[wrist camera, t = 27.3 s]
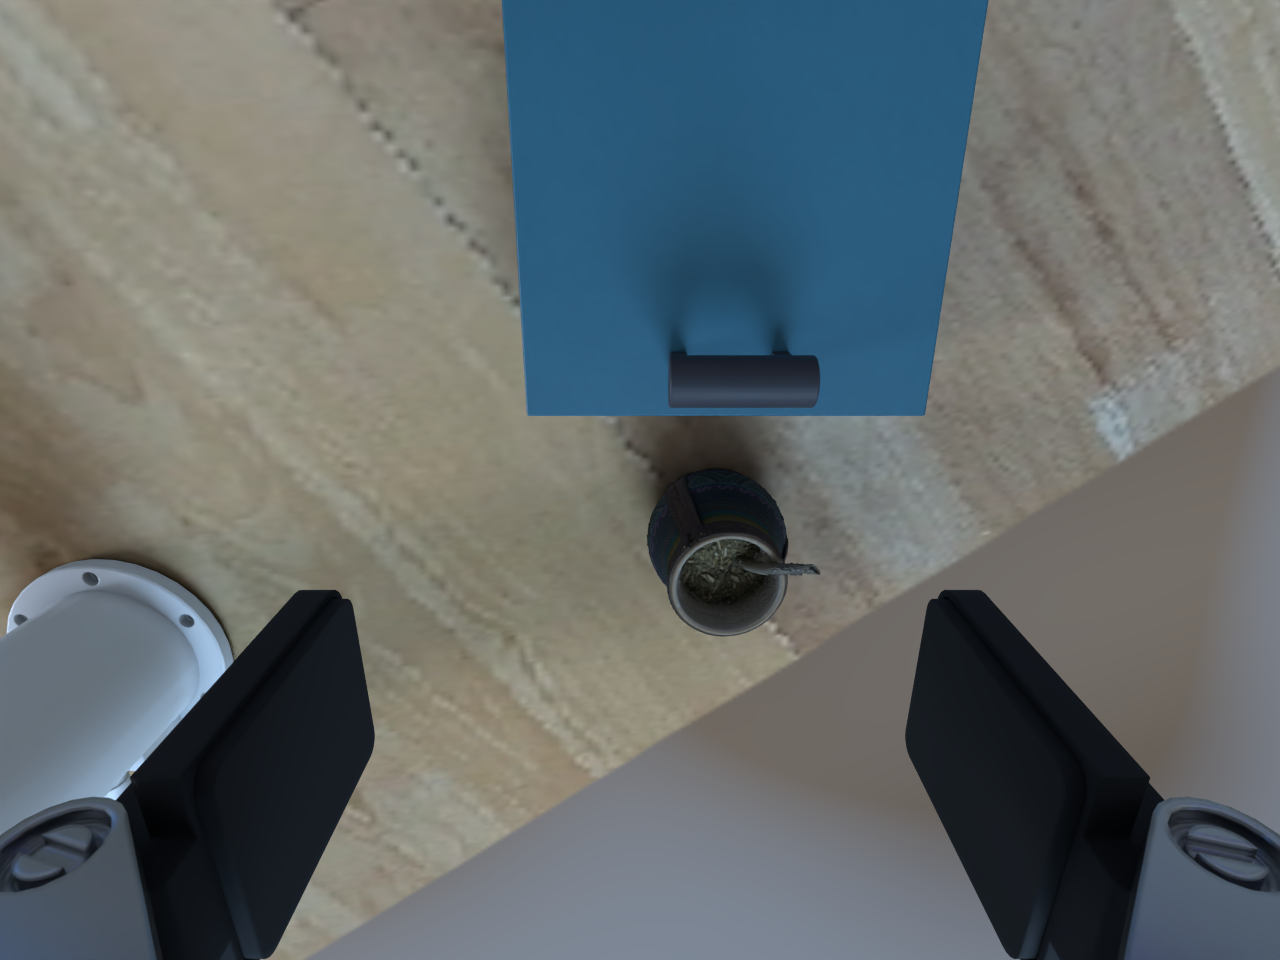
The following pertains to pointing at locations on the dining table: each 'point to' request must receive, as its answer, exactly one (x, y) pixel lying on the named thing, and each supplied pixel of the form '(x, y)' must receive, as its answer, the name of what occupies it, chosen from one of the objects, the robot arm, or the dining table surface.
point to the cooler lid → (735, 201)
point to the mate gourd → (721, 551)
